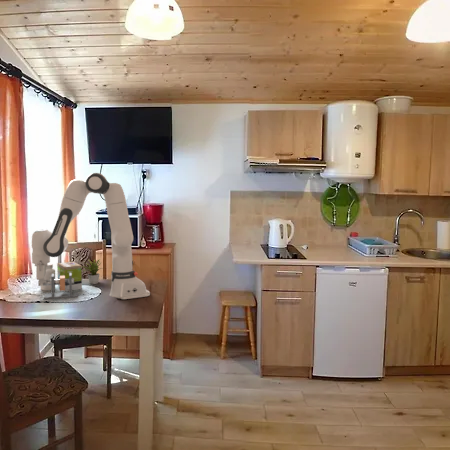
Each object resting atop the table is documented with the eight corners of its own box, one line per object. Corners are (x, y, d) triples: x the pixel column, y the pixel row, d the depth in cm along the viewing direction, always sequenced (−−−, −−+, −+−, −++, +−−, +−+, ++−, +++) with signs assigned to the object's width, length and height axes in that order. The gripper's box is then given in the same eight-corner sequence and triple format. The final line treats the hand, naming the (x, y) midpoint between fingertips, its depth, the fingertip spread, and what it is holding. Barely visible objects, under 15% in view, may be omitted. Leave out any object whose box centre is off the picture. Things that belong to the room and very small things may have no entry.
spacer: (65, 287, 226) (64, 275, 226) (65, 290, 220) (64, 278, 219) (60, 287, 225) (59, 275, 225) (59, 290, 219) (59, 278, 218)
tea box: (57, 286, 244) (56, 262, 242) (74, 284, 250) (73, 261, 249) (65, 291, 232) (64, 266, 231) (82, 289, 238) (82, 264, 237)
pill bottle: (56, 290, 236) (56, 264, 234) (42, 291, 231) (41, 266, 230) (53, 287, 242) (53, 262, 241) (39, 288, 238) (38, 263, 236)
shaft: (74, 283, 226) (73, 277, 226) (74, 284, 223) (73, 278, 223) (38, 285, 219) (38, 279, 219) (38, 286, 217) (38, 281, 216)
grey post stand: (77, 292, 230) (76, 272, 229) (77, 297, 221) (77, 275, 220) (44, 294, 224) (44, 273, 223) (43, 299, 215) (43, 277, 214)
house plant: (89, 280, 261) (88, 255, 260) (109, 281, 259) (109, 256, 257) (77, 285, 247) (77, 259, 246) (98, 286, 245) (98, 260, 243)
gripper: (46, 262, 209) (47, 288, 210) (48, 256, 228) (48, 280, 229) (33, 263, 206) (33, 289, 208) (36, 256, 225) (36, 281, 227)
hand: (41, 284), depth 218 cm, fingers closed on shaft, 3 cm apart
